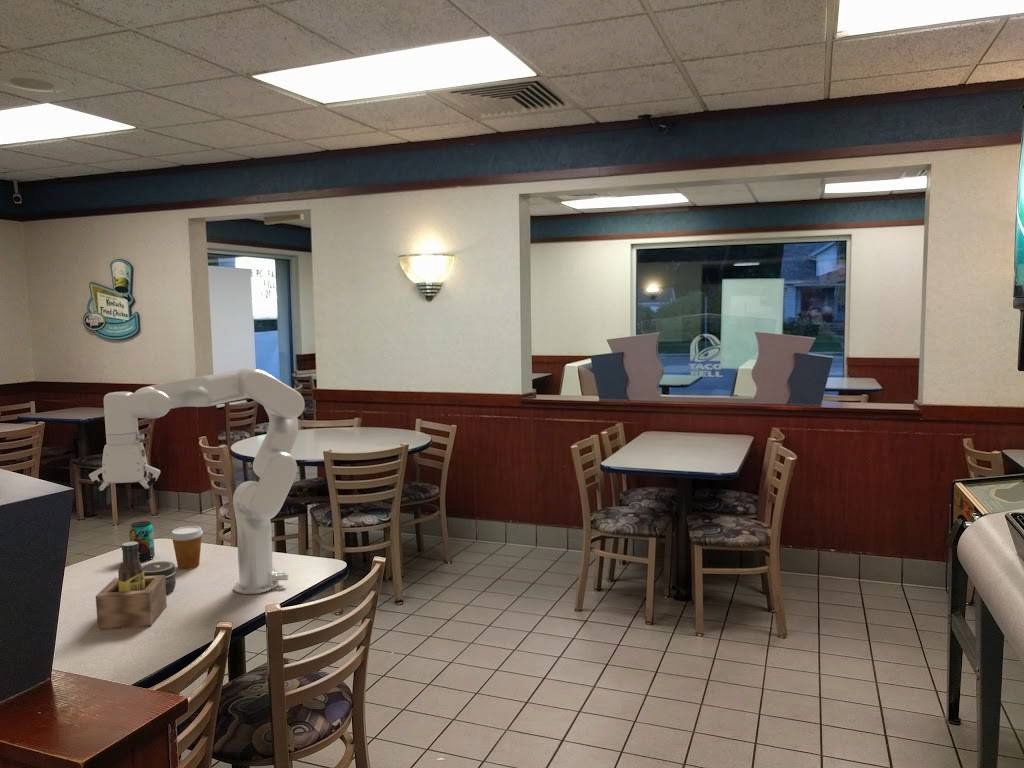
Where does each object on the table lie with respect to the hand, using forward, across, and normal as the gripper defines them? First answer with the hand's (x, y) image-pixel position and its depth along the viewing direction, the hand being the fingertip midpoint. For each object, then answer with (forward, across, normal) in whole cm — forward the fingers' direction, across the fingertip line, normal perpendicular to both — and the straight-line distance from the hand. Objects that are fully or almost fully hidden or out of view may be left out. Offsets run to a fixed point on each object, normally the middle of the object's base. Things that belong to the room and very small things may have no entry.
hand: (127, 503), depth 195 cm
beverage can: (+32, +14, -49) cm, 60 cm away
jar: (+32, 0, -18) cm, 37 cm away
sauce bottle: (+31, 0, 0) cm, 31 cm away
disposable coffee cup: (+32, -3, -39) cm, 51 cm away
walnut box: (+31, 0, 0) cm, 31 cm away
